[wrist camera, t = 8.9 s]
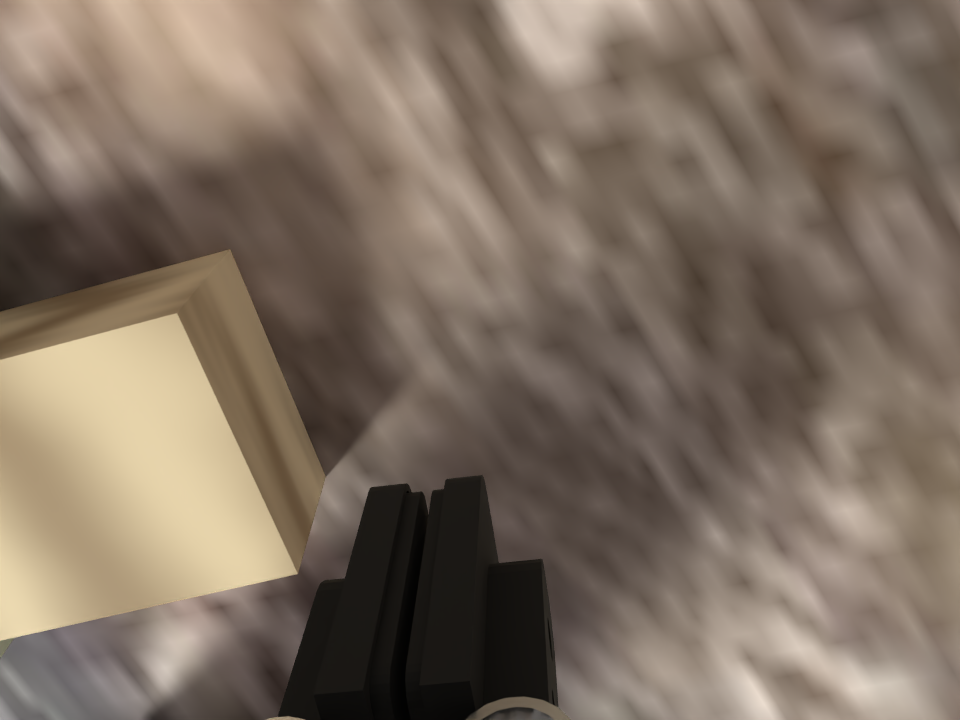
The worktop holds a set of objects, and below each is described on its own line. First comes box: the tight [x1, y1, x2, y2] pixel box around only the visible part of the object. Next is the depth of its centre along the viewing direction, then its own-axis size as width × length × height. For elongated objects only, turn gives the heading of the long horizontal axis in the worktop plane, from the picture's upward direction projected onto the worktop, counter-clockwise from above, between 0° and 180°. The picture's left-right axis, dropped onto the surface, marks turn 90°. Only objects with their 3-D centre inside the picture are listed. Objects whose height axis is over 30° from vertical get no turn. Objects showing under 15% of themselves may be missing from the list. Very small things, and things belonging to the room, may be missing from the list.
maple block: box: [0, 249, 326, 641], centre depth 24 cm, size 10×8×5 cm
